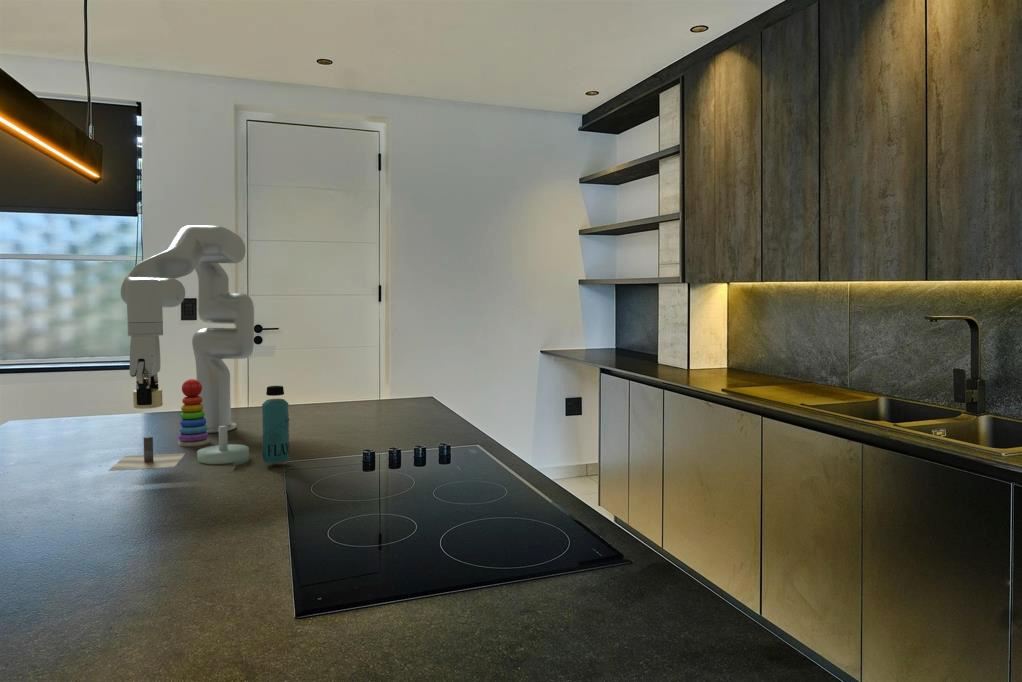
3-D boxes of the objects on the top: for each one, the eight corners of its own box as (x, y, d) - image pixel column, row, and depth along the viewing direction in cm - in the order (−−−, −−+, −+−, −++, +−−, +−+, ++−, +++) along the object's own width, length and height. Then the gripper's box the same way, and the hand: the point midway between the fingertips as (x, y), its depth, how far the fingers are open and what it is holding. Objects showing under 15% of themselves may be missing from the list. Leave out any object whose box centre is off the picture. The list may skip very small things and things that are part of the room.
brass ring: (137, 404, 163) (137, 388, 162) (164, 403, 164) (164, 387, 164) (131, 409, 157) (130, 392, 157) (159, 408, 159) (158, 391, 158)
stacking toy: (215, 443, 185) (214, 378, 184) (199, 450, 177) (197, 381, 176) (189, 442, 186) (187, 377, 184) (171, 449, 178) (170, 380, 177)
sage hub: (201, 456, 170) (201, 422, 170) (251, 454, 174) (250, 421, 173) (193, 469, 159) (192, 432, 158) (246, 466, 162) (245, 430, 161)
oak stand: (125, 460, 166) (124, 432, 166) (185, 456, 170) (185, 430, 169) (108, 474, 153) (107, 445, 152) (174, 471, 157) (173, 442, 156)
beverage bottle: (263, 470, 159) (262, 388, 157) (260, 463, 165) (259, 384, 163) (291, 467, 162) (291, 387, 160) (287, 460, 168) (286, 383, 166)
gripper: (137, 326, 166) (140, 396, 168) (117, 332, 150) (120, 409, 151) (170, 326, 168) (172, 395, 170) (154, 332, 152) (156, 408, 153)
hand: (148, 401), depth 161 cm, fingers closed on brass ring, 6 cm apart
